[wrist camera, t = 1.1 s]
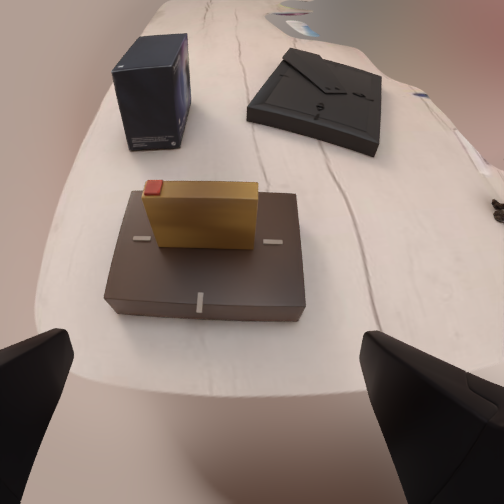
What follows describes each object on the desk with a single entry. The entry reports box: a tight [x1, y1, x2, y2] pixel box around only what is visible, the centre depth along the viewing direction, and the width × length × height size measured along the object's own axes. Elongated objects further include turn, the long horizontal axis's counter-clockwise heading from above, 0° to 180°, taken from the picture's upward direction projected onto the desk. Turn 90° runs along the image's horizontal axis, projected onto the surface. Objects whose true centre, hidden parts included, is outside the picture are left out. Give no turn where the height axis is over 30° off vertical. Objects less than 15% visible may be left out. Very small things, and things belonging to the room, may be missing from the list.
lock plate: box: [104, 191, 306, 321], centre depth 24 cm, size 14×11×3 cm
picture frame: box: [247, 48, 382, 157], centre depth 39 cm, size 16×3×21 cm
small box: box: [112, 33, 191, 150], centre depth 31 cm, size 11×6×10 cm, turn 2°
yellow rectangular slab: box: [141, 180, 258, 250], centre depth 21 cm, size 7×1×6 cm, turn 90°
